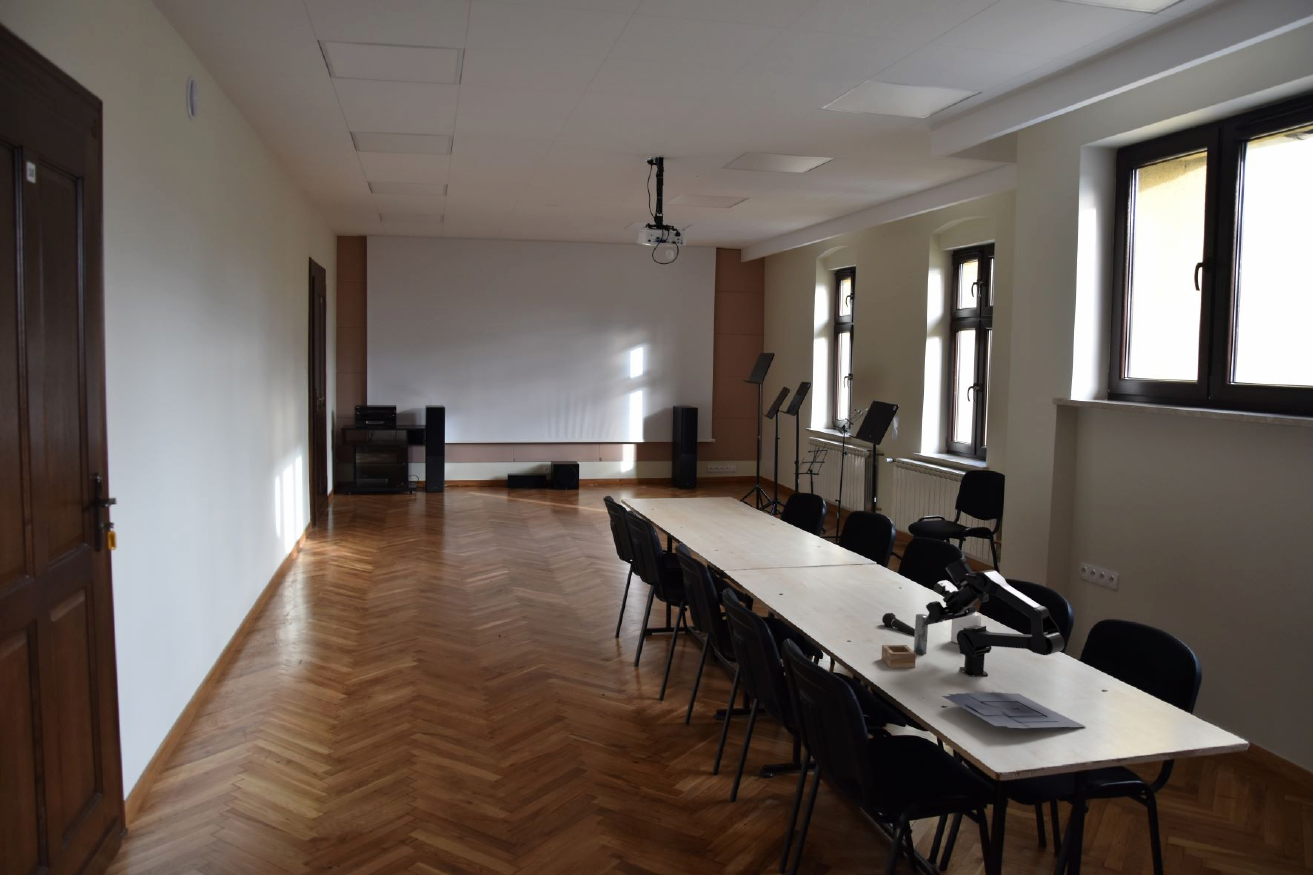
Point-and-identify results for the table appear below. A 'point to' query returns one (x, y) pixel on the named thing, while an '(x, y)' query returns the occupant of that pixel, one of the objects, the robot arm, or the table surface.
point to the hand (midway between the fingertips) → (934, 621)
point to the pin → (920, 634)
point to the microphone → (897, 623)
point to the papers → (1010, 710)
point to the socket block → (898, 656)
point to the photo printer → (964, 624)
